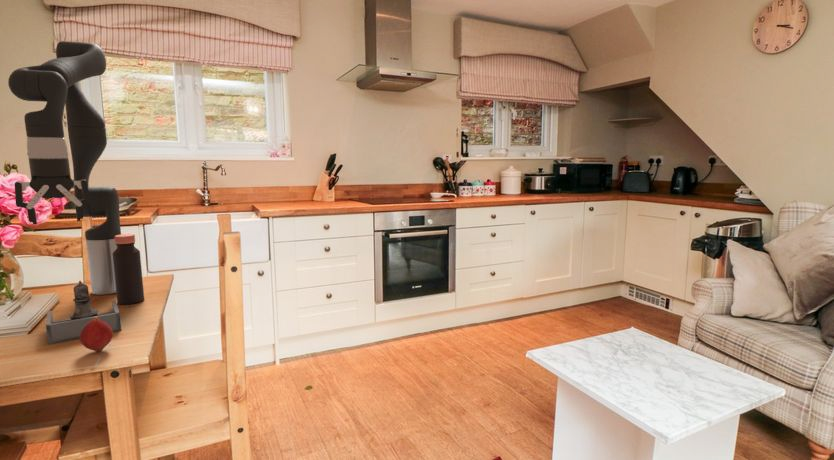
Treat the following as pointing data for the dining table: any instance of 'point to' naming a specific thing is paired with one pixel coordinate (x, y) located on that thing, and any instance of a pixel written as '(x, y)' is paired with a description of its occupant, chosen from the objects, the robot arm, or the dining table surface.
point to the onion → (96, 335)
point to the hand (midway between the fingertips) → (57, 222)
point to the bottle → (127, 270)
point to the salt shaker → (82, 303)
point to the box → (78, 325)
